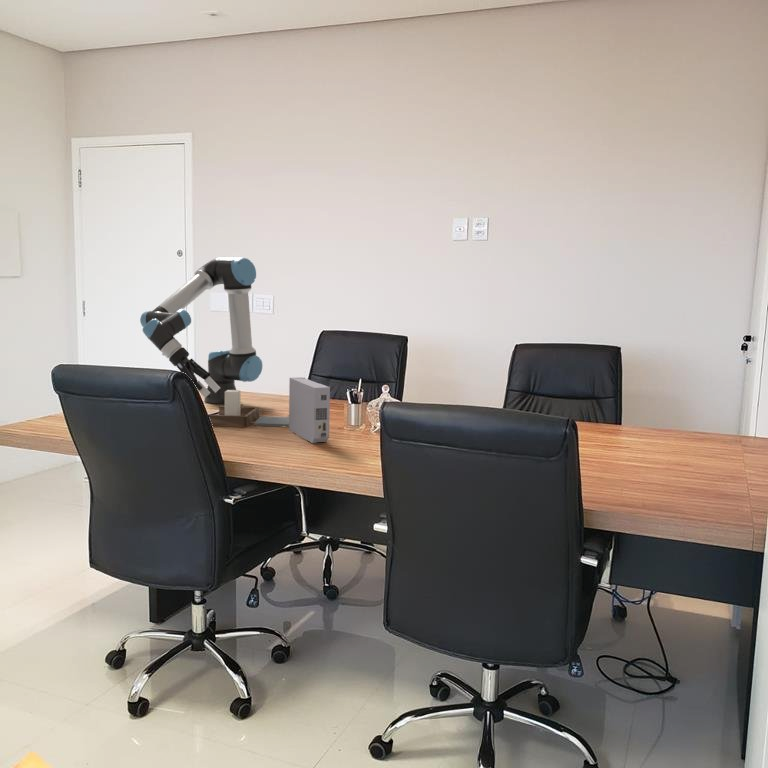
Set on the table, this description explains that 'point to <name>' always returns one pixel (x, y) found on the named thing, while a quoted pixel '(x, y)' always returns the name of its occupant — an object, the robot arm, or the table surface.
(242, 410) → the brown wooden tray
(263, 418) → the mat
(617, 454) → the table surface
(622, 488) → the table surface
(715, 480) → the table surface
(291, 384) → the game console
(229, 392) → the cream block
